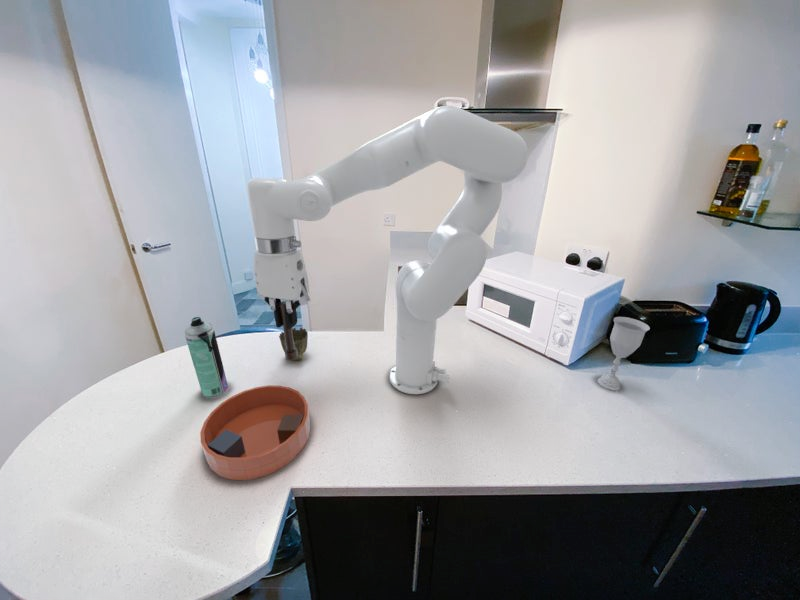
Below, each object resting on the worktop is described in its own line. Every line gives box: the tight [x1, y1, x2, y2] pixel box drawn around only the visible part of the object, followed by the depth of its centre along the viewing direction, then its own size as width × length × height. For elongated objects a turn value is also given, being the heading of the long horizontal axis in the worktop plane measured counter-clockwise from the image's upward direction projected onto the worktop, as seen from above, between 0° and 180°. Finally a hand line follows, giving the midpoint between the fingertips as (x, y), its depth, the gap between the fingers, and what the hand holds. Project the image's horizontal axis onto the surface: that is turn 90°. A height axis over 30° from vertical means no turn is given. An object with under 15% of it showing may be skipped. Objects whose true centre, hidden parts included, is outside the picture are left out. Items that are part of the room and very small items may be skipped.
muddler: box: [280, 300, 298, 361], centre depth 71 cm, size 3×3×14 cm
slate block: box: [207, 430, 245, 458], centre depth 58 cm, size 4×4×4 cm
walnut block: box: [277, 415, 304, 444], centre depth 63 cm, size 4×4×4 cm
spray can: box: [184, 316, 229, 399], centre depth 72 cm, size 6×6×20 cm
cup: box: [278, 327, 308, 362], centre depth 88 cm, size 8×7×8 cm
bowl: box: [200, 384, 311, 481], centre depth 63 cm, size 19×19×6 cm
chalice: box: [597, 316, 651, 391], centre depth 79 cm, size 7×7×18 cm
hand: (286, 325), depth 70 cm, fingers closed on muddler
